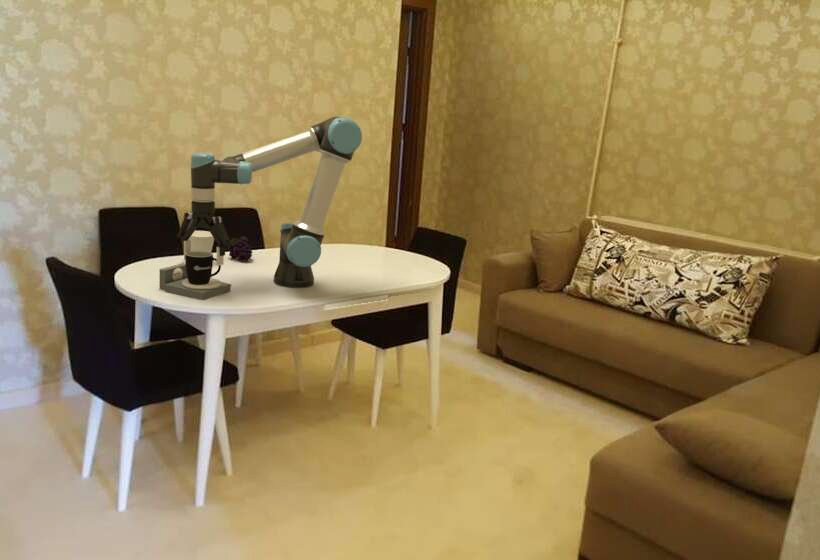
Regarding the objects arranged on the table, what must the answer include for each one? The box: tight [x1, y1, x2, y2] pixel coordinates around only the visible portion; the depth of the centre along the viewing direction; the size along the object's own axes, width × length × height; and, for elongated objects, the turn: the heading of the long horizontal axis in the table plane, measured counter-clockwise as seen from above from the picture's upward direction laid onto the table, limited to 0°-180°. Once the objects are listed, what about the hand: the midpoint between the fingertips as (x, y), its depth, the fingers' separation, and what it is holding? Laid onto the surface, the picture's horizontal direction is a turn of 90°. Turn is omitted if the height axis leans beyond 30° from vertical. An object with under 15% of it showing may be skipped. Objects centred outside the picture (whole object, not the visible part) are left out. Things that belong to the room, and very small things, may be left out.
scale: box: [159, 262, 231, 301], centre depth 227 cm, size 19×15×7 cm
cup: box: [188, 230, 215, 253], centre depth 264 cm, size 12×12×12 cm
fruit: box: [227, 235, 253, 263], centre depth 278 cm, size 10×11×15 cm
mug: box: [184, 251, 222, 285], centre depth 225 cm, size 12×9×10 cm
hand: (203, 262), depth 225 cm, fingers open, 13 cm apart
